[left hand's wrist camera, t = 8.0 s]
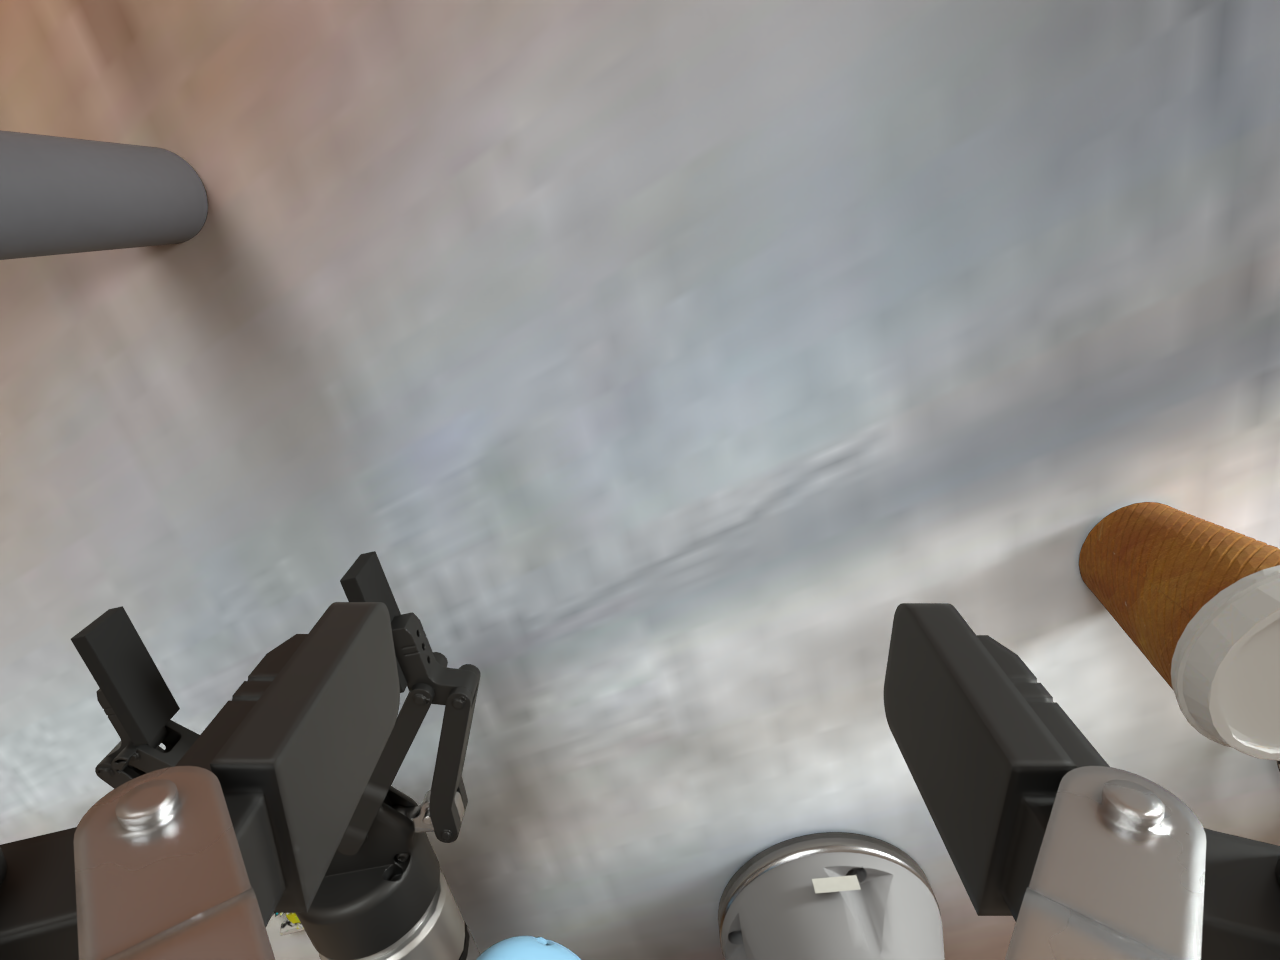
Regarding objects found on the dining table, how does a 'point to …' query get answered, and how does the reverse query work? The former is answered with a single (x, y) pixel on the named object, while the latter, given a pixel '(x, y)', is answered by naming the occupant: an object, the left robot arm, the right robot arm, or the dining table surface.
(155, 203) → the jar
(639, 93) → the dining table surface
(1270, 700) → the disposable coffee cup
